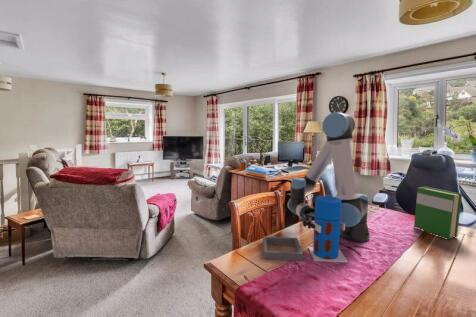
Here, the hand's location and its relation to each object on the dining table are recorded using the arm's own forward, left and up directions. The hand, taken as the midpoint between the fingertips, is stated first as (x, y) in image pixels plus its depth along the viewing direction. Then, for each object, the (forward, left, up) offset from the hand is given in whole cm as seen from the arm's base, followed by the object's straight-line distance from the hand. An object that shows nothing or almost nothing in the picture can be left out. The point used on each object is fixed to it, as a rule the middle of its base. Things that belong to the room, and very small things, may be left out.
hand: (332, 228), depth 110 cm
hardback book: (-67, -36, -14) cm, 77 cm away
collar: (+20, -6, -14) cm, 25 cm away
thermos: (+1, -4, -14) cm, 14 cm away
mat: (0, -4, -14) cm, 14 cm away
